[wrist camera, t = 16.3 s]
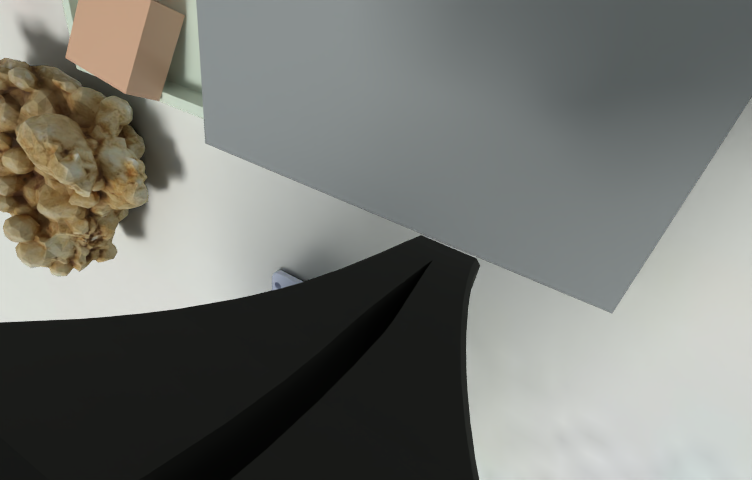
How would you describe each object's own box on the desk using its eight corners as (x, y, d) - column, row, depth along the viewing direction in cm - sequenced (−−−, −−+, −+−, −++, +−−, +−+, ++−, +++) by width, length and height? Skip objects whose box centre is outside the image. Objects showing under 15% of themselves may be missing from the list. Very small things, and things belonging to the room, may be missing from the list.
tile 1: (159, 101, 23) (125, 94, 21) (102, 67, 24) (65, 57, 22) (185, 15, 21) (151, -1, 20) (123, -16, 23) (86, -34, 21)
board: (614, 279, 18) (612, 313, 16) (239, 131, 24) (205, 143, 22) (863, -129, 10) (915, -158, 9) (234, -188, 17) (182, -213, 15)
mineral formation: (134, 257, 36) (-2, 116, 34) (216, 156, 29) (51, -26, 27) (38, 309, 29) (-139, 135, 27) (116, 192, 22) (-112, -48, 20)
